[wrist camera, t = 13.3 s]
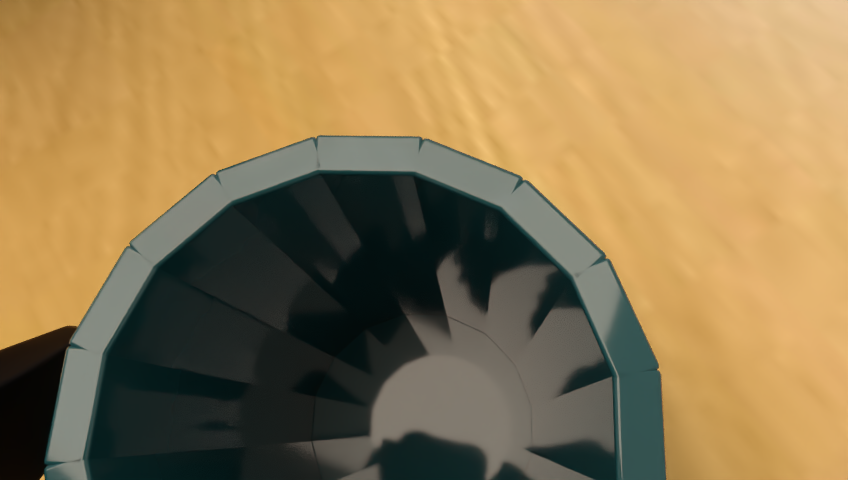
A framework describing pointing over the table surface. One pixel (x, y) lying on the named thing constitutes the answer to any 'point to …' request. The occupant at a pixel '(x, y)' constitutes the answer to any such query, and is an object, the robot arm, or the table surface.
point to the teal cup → (360, 332)
